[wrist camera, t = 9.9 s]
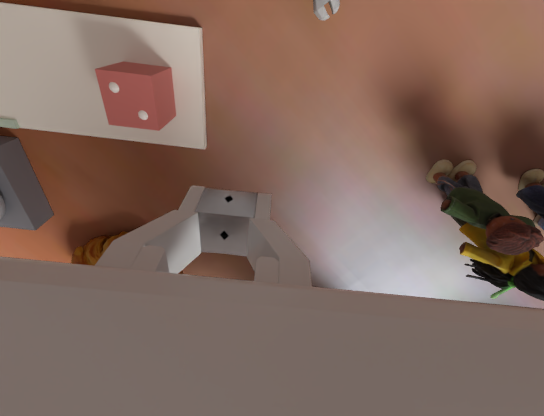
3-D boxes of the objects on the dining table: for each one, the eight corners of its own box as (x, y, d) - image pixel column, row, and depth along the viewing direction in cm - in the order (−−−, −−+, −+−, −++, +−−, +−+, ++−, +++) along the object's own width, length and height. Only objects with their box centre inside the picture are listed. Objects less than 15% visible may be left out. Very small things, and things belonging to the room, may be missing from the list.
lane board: (206, 146, 27) (204, 150, 26) (-66, 114, 26) (-79, 117, 25) (200, -22, 19) (195, -24, 19) (-183, -73, 19) (-206, -77, 18)
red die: (176, 115, 25) (158, 131, 21) (132, 110, 24) (107, 125, 21) (171, 67, 22) (150, 76, 19) (122, 61, 22) (92, 69, 19)
